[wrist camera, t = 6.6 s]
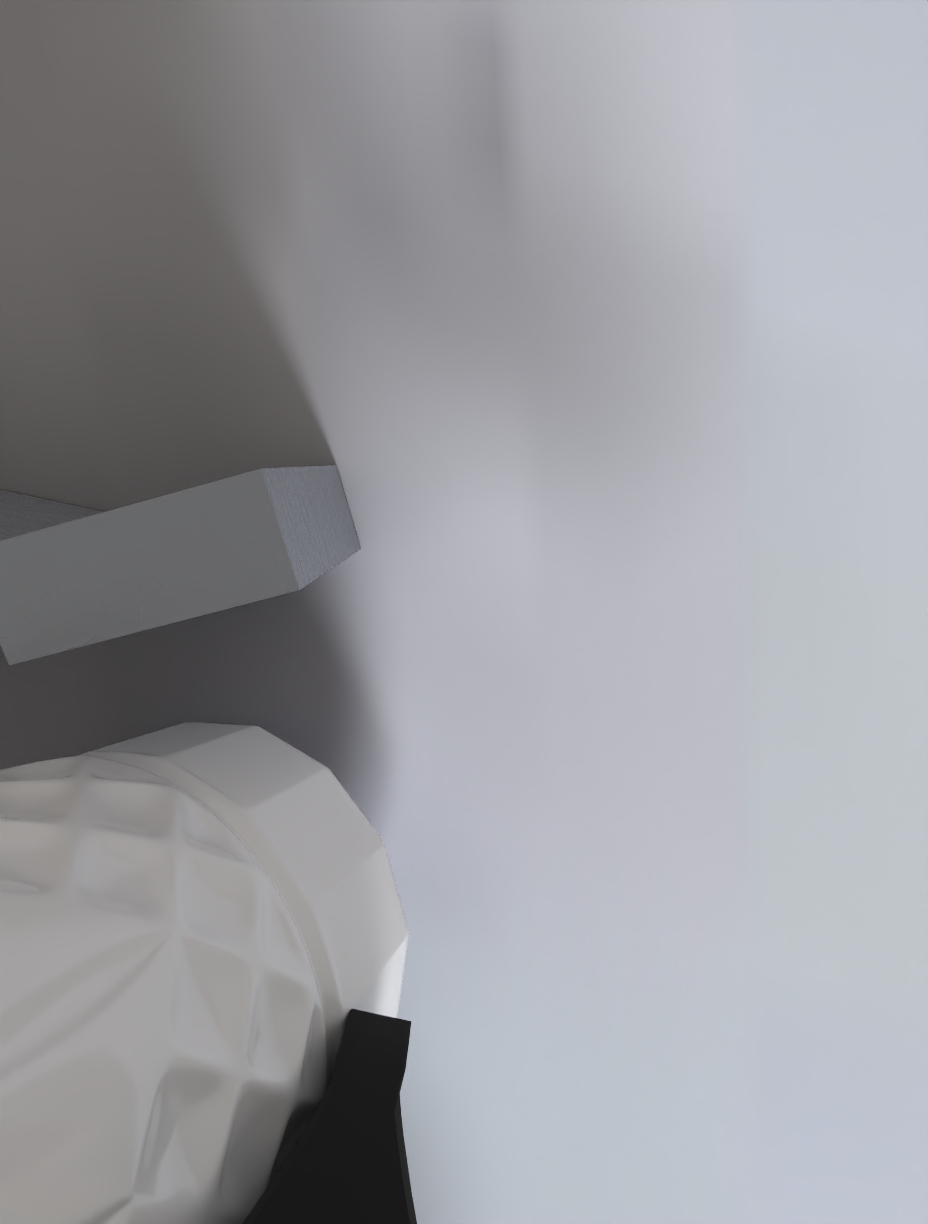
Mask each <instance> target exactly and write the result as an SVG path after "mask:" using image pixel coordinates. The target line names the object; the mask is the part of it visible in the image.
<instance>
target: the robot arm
mask: <svg viewBox="0 0 928 1224" xmlns="http://www.w3.org/2000/svg"><path fill="white" fill-rule="evenodd" d="M410 1027H411V1021H407V1020H402V1019H398V1018H393V1017H389V1016H384V1015H380V1014H375V1013H370V1012H366V1011H361V1010H357V1009H351V1010H350V1012H349V1015H348V1019H347V1022H346V1026H345V1029H344V1032H343V1036H342V1039H341V1043H340V1047H339V1050H338V1054H337V1058H336V1063H335V1068H334V1073H333V1077H332V1081H331V1083H330V1085H329V1087H328V1089H327V1091H326V1093H325V1094H324V1096H323V1098H322V1100H321V1102H320V1103H319V1105H318V1107H317V1108H316V1110H315V1112H314V1113H313V1115H312V1117H311V1118H310V1120H309V1122H308V1123H307V1125H306V1127H305V1129H304V1130H303V1132H302V1134H301V1135H300V1137H299V1139H298V1140H297V1142H296V1144H295V1145H294V1147H293V1149H292V1150H291V1152H290V1153H289V1155H288V1157H287V1158H286V1160H285V1161H284V1163H283V1164H282V1166H281V1167H280V1169H279V1170H278V1172H277V1173H276V1175H275V1176H274V1178H273V1179H272V1181H271V1182H270V1184H269V1185H268V1187H267V1188H266V1190H265V1191H264V1192H263V1194H262V1195H261V1197H260V1198H259V1200H258V1201H257V1203H256V1204H255V1206H254V1207H253V1209H252V1210H251V1212H250V1213H249V1215H248V1216H247V1218H246V1219H245V1221H244V1222H243V1223H242V1224H417V1221H416V1216H415V1210H414V1204H413V1198H412V1193H411V1186H410V1179H409V1172H408V1165H407V1158H406V1151H405V1144H404V1136H403V1127H402V1118H401V1107H400V1089H401V1085H402V1081H403V1077H404V1073H405V1068H406V1060H407V1052H408V1045H409V1036H410Z"/></svg>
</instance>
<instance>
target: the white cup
mask: <svg viewBox="0 0 928 1224" xmlns="http://www.w3.org/2000/svg"><path fill="white" fill-rule="evenodd" d="M408 938H409V929H408V925H407V921H406V918H405V914H404V911H403V907H402V904H401V900H400V897H399V893H398V890H397V886H396V883H395V879H394V875H393V872H392V868H391V865H390V861H389V858H388V854H387V851H386V847H385V844H384V842H383V840H382V839H381V837H380V836H379V835H378V833H377V832H376V831H375V829H374V828H373V827H372V825H371V824H370V823H369V821H368V820H367V819H366V817H365V816H364V814H363V813H362V812H361V810H360V809H359V808H358V806H357V805H356V804H355V802H354V801H353V800H352V798H351V797H350V796H349V794H348V793H347V792H346V790H345V789H344V788H343V786H342V785H341V784H340V782H339V781H338V780H337V778H336V777H335V776H334V774H333V773H332V772H331V771H330V769H329V768H327V767H326V766H324V765H323V764H321V763H319V762H318V761H316V760H314V759H313V758H311V757H309V756H308V755H306V754H304V753H303V752H301V751H299V750H298V749H296V748H294V747H293V746H291V745H289V744H288V743H286V742H284V741H283V740H281V739H279V738H278V737H276V736H274V735H273V734H271V733H269V732H268V731H266V730H264V729H263V728H261V727H259V726H255V725H234V724H214V723H195V722H187V723H182V724H178V725H175V726H171V727H168V728H165V729H161V730H158V731H155V732H151V733H148V734H145V735H142V736H138V737H135V738H132V739H128V740H125V741H122V742H118V743H115V744H112V745H109V746H105V747H102V748H99V749H96V750H93V751H90V752H86V753H83V754H80V755H78V756H71V757H63V758H57V759H50V760H44V761H39V762H34V763H29V764H24V765H19V766H14V767H9V768H5V769H0V1224H242V1223H243V1222H244V1221H245V1219H246V1218H247V1216H248V1215H249V1213H250V1212H251V1210H252V1209H253V1207H254V1206H255V1204H256V1203H257V1201H258V1200H259V1198H260V1197H261V1195H262V1194H263V1192H264V1191H265V1190H266V1188H267V1187H268V1185H269V1184H270V1182H271V1181H272V1179H273V1178H274V1176H275V1175H276V1173H277V1172H278V1170H279V1169H280V1167H281V1166H282V1164H283V1163H284V1161H285V1160H286V1158H287V1157H288V1155H289V1153H290V1152H291V1150H292V1149H293V1147H294V1145H295V1144H296V1142H297V1140H298V1139H299V1137H300V1135H301V1134H302V1132H303V1130H304V1129H305V1127H306V1125H307V1123H308V1122H309V1120H310V1118H311V1117H312V1115H313V1113H314V1112H315V1110H316V1108H317V1107H318V1105H319V1103H320V1102H321V1100H322V1098H323V1096H324V1094H325V1093H326V1091H327V1089H328V1087H329V1085H330V1083H331V1081H332V1077H333V1073H334V1068H335V1063H336V1058H337V1054H338V1050H339V1047H340V1043H341V1039H342V1036H343V1032H344V1029H345V1026H346V1022H347V1019H348V1015H349V1012H350V1010H351V1009H357V1010H361V1011H366V1012H370V1013H375V1014H380V1015H384V1016H389V1017H393V1018H396V1017H397V1014H398V1009H399V1002H400V995H401V988H402V981H403V974H404V967H405V959H406V952H407V945H408Z"/></svg>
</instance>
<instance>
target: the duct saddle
mask: <svg viewBox="0 0 928 1224" xmlns="http://www.w3.org/2000/svg"><path fill="white" fill-rule="evenodd" d="M360 549H361V548H360V544H359V541H358V538H357V534H356V531H355V527H354V524H353V521H352V517H351V514H350V510H349V507H348V504H347V500H346V497H345V494H344V490H343V487H342V483H341V480H340V477H339V473H338V470H337V467H336V465H327V466H304V467H281V468H260V469H257V470H253V471H250V472H246V473H242V474H239V475H235V476H232V477H228V478H224V479H221V480H217V481H214V482H210V483H207V484H203V485H199V486H196V487H192V488H189V489H185V490H181V491H178V492H174V493H171V494H167V495H163V496H160V497H156V498H153V499H149V500H145V501H142V502H138V503H135V504H131V505H127V506H124V507H120V508H117V509H113V510H110V511H106V512H104V511H100V510H95V509H90V508H85V507H81V506H76V505H71V504H67V503H62V502H57V501H52V500H48V499H43V498H38V497H34V496H29V495H24V494H19V493H15V492H10V491H5V490H1V489H0V657H1V656H4V655H5V657H6V659H7V662H8V664H9V665H13V664H17V663H21V662H25V661H29V660H33V659H36V658H40V657H44V656H48V655H52V654H56V653H60V652H63V651H67V650H71V649H75V648H79V647H83V646H87V645H90V644H94V643H98V642H102V641H106V640H110V639H114V638H117V637H121V636H125V635H129V634H133V633H137V632H141V631H144V630H148V629H152V628H156V627H160V626H164V625H168V624H171V623H175V622H179V621H183V620H187V619H191V618H195V617H198V616H202V615H206V614H210V613H214V612H218V611H222V610H225V609H229V608H233V607H237V606H241V605H245V604H249V603H252V602H256V601H260V600H264V599H268V598H272V597H276V596H279V595H283V594H287V593H291V592H295V591H299V590H301V589H302V588H304V587H305V586H307V585H308V584H310V583H311V582H312V581H314V580H315V579H317V578H318V577H320V576H321V575H323V574H324V573H326V572H327V571H329V570H330V569H332V568H333V567H335V566H336V565H338V564H339V563H341V562H342V561H344V560H345V559H347V558H348V557H349V556H351V555H352V554H354V553H355V552H357V551H358V550H360Z"/></svg>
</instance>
